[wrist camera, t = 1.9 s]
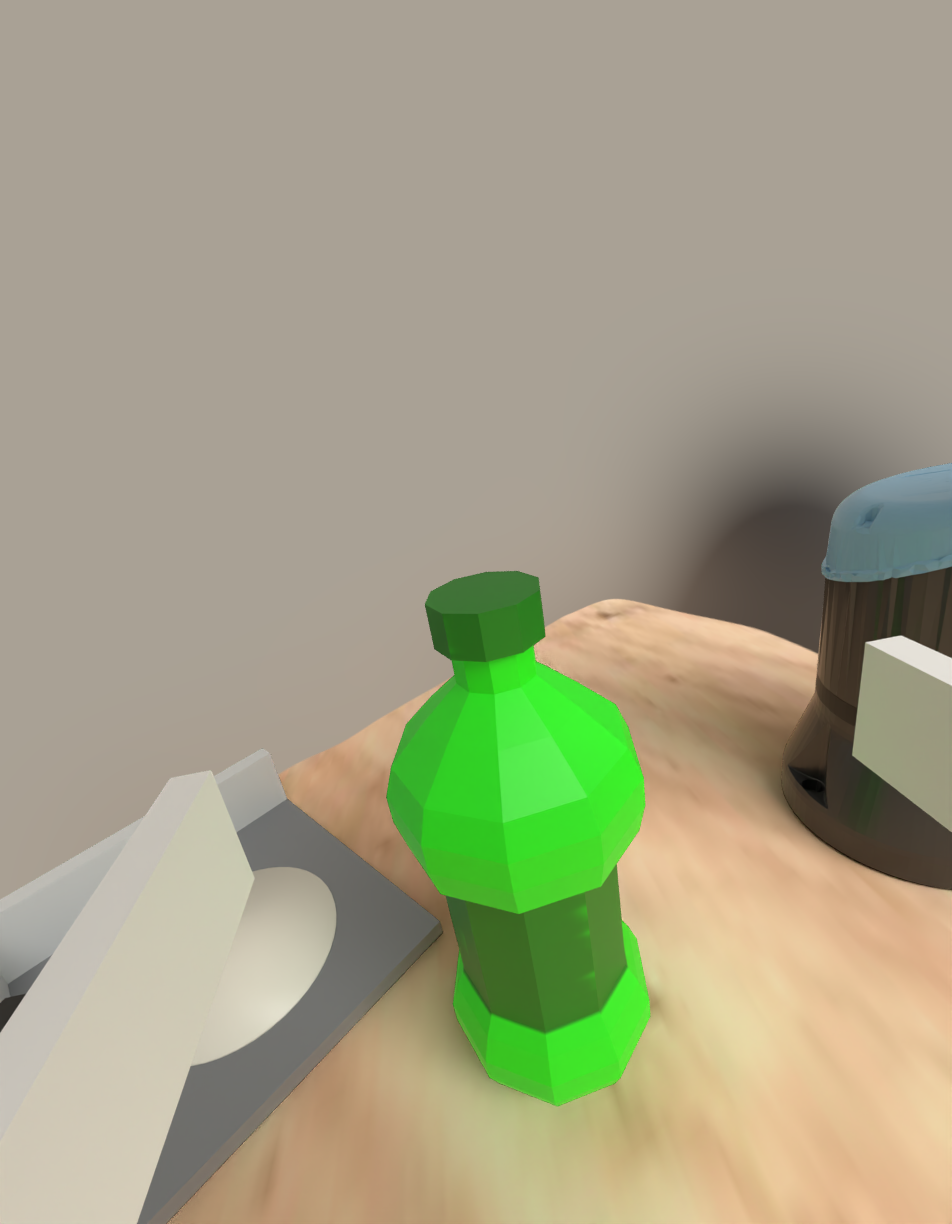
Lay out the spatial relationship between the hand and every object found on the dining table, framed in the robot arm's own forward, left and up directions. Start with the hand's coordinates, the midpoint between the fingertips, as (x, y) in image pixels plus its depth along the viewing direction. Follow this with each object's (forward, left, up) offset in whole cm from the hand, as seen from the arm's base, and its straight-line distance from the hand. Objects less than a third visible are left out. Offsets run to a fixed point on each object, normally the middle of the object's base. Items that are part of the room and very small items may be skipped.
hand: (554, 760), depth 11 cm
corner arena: (+5, -27, -24) cm, 37 cm away
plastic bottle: (-6, -7, -25) cm, 26 cm away
